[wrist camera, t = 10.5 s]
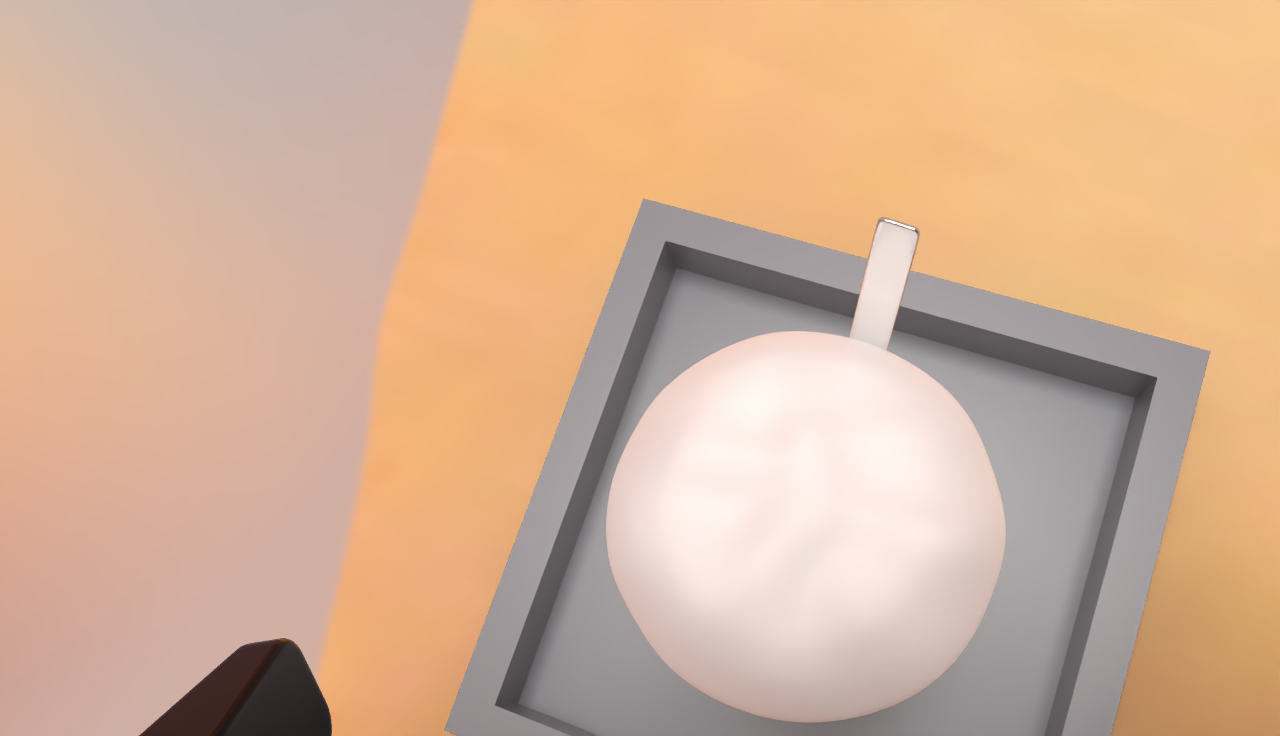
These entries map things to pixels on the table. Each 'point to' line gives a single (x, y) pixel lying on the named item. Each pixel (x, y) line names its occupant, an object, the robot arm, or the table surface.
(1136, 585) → the tray
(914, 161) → the table surface
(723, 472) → the milkshake
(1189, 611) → the table surface
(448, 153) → the table surface
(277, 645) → the robot arm
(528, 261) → the table surface
